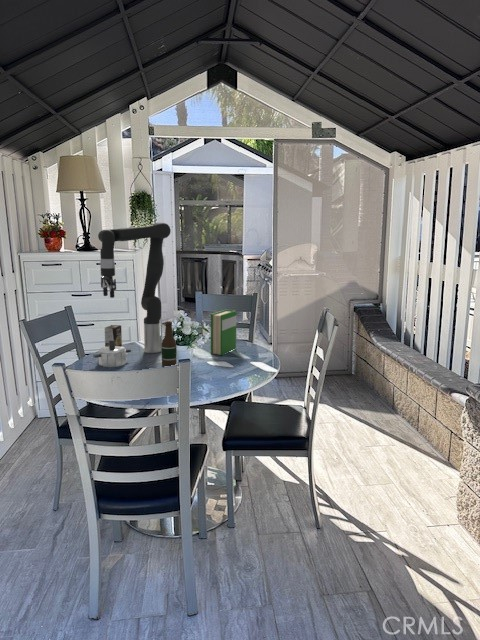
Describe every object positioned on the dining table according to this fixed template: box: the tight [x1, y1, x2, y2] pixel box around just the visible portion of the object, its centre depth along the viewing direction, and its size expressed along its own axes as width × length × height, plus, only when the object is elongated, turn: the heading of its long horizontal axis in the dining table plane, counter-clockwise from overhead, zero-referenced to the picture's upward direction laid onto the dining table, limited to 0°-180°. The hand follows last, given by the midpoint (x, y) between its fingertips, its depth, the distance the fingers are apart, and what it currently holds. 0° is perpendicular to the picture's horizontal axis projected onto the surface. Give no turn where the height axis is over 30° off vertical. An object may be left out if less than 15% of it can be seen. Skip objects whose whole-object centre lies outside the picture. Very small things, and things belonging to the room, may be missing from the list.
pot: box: [92, 348, 132, 368], centre depth 246 cm, size 20×14×7 cm
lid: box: [98, 340, 126, 354], centre depth 245 cm, size 14×14×7 cm
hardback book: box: [210, 309, 237, 356], centre depth 271 cm, size 18×7×24 cm, turn 153°
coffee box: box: [104, 324, 123, 347], centre depth 264 cm, size 9×6×16 cm
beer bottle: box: [161, 320, 178, 368], centre depth 241 cm, size 8×8×24 cm
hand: (108, 296), depth 253 cm, fingers open, 8 cm apart
